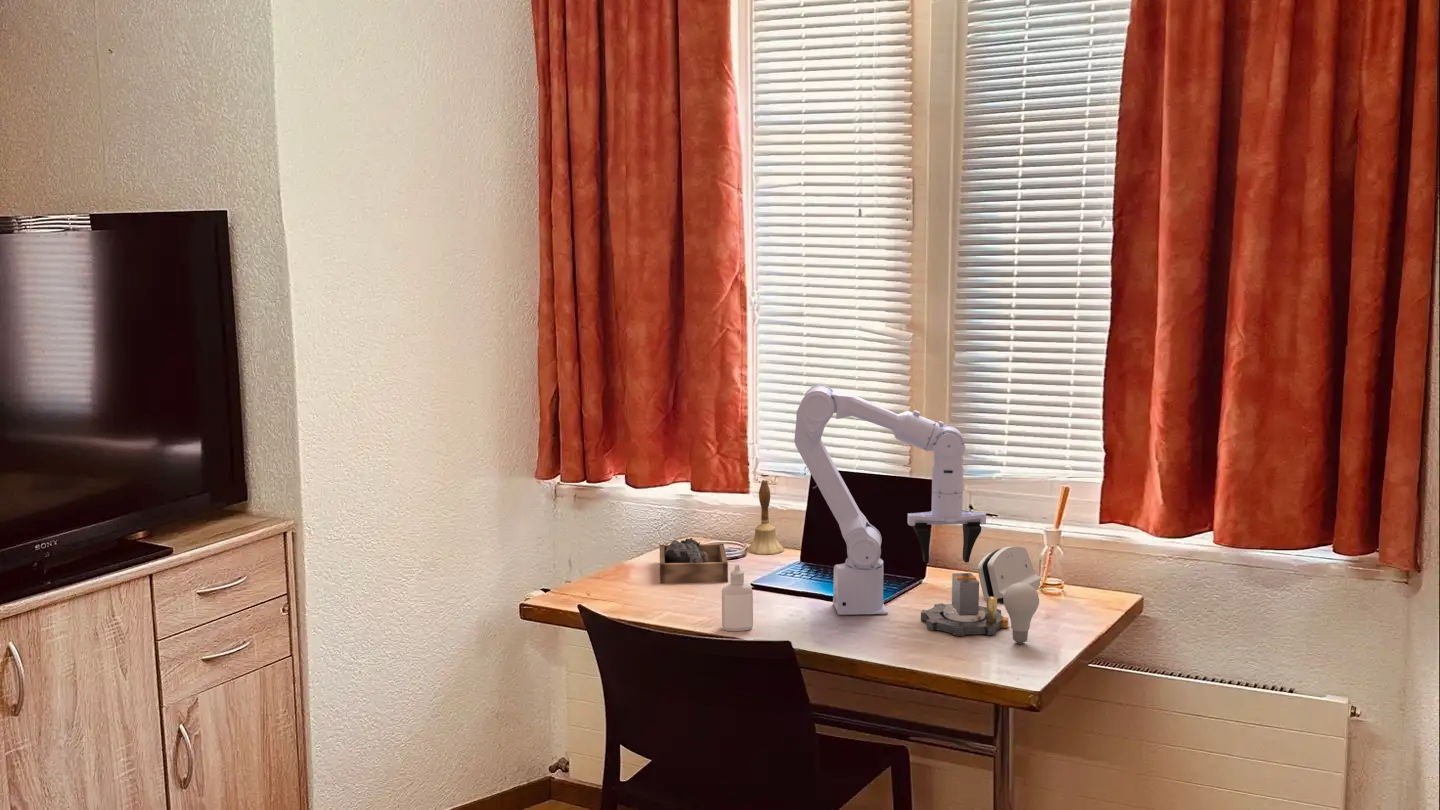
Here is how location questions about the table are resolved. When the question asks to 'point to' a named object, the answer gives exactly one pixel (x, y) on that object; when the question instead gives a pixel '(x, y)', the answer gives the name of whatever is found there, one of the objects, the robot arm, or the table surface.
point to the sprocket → (960, 629)
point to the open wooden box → (696, 567)
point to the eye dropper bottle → (737, 603)
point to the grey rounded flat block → (1006, 571)
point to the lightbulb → (1020, 608)
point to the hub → (953, 615)
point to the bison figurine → (685, 552)
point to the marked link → (965, 593)
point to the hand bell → (765, 528)
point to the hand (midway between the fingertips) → (945, 561)
